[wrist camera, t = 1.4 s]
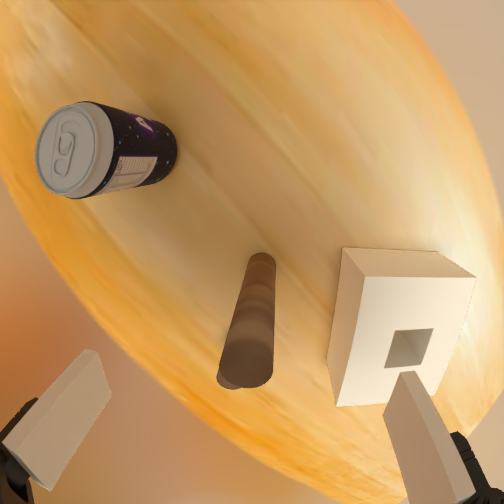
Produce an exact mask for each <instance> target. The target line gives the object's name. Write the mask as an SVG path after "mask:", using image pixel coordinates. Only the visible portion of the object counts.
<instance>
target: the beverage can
mask: <svg viewBox="0 0 504 504" xmlns="http://www.w3.org/2000/svg"><path fill="white" fill-rule="evenodd" d="M176 155H177V145H176V140H175V137H174V135H173V133H172V132H171V130H170V129H169V128H168V127H167V126H165V125H164V124H162V123H160V122H157V121H154V120H151V119H148V118H145V117H142V116H139V115H136V114H132V113H129V112H126V111H123V110H119V109H116V108H112V107H109V106H105V105H102V104H98V103H94V102H89V101H84V102H79V103H76V104H73V105H68V106H65V107H62V108H60V109H58V110H56V111H55V112H54V113H53V114H52V115H51V116H50V117H49V118H48V119H47V120H46V122H45V123H44V125H43V127H42V128H41V131H40V133H39V136H38V139H37V143H36V148H35V164H36V170H37V173H38V176H39V178H40V180H41V182H42V184H43V185H44V186H45V187H46V188H47V189H48V190H49V191H51V192H52V193H54V194H57V195H63V196H65V197H67V198H71V199H82V198H86V197H91V196H95V195H100V194H104V193H109V192H114V191H119V190H124V189H129V188H134V187H139V186H145V185H150V184H154V183H157V182H159V181H160V180H162V179H163V178H164V177H166V176H167V175H168V173H169V172H170V171H171V169H172V167H173V165H174V163H175V160H176Z"/></svg>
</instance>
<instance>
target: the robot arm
mask: <svg viewBox="0 0 504 504" xmlns="http://www.w3.org/2000/svg"><path fill="white" fill-rule="evenodd" d="M111 396H112V393H111V390H110V387H109V384H108V382H107V379H106V376H105V373H104V369H103V366H102V363H101V360H100V356H99V353H98V352H97V351H92V350H89V349H85V350H84V351H83V352H82V353H81V354H80V355H79V356H78V357H77V358H76V359H75V360H74V361H73V362H72V363H71V364H70V365H69V366H68V368H67V369H66V370H65V371H64V372H63V373H62V374H61V375H60V376H59V377H58V378H57V379H56V380H55V382H54V383H53V384H52V385H51V386H50V387H49V388H48V389H47V390H46V391H45V393H44V394H43V395H42V396H41V397H40V398H39V399H38V398H34V399H32V400H30V401H29V402H27V403H26V404H25V405H24V406H23V407H22V408H21V410H20V412H18V413H17V414H16V415H15V417H13V418H12V419H11V421H10V422H9V423H8V424H7V425H6V426H5V428H4V429H3V430H2V431H1V432H0V504H34V499H33V494H32V489H31V484H30V482H29V480H28V478H29V477H30V476H31V477H32V478H33V480H34V481H35V482H36V483H37V484H39V485H41V486H42V487H44V488H46V489H47V490H49V491H51V490H52V489H53V487H54V485H55V484H56V482H57V480H58V479H59V477H60V475H61V474H62V472H63V471H64V469H65V467H66V466H67V464H68V462H69V461H70V459H71V458H72V456H73V455H74V453H75V451H76V450H77V448H78V447H79V445H80V443H81V442H82V440H83V439H84V437H85V436H86V434H87V433H88V431H89V430H90V428H91V426H92V425H93V423H94V422H95V420H96V419H97V417H98V416H99V414H100V413H101V411H102V410H103V408H104V407H105V405H106V404H107V402H108V401H109V399H110V398H111ZM383 418H384V421H385V424H386V427H387V430H388V433H389V436H390V439H391V442H392V445H393V448H394V451H395V454H396V458H397V461H398V464H399V467H400V471H401V474H402V477H403V481H404V484H405V488H406V491H407V495H408V498H409V502H410V504H504V492H502V491H501V490H499V489H497V488H491V487H490V485H489V484H488V482H487V480H486V478H485V475H484V473H483V471H482V469H481V467H480V465H479V463H478V461H477V459H476V458H475V455H474V453H473V451H471V447H470V445H469V443H468V441H467V439H466V438H465V437H464V436H463V435H461V434H460V433H459V432H458V431H457V432H454V433H450V434H449V432H448V430H447V428H446V426H445V424H444V422H443V420H442V418H441V416H440V414H439V413H438V411H437V409H436V407H435V405H434V403H433V401H432V400H431V398H430V396H429V394H428V392H427V391H426V389H425V387H424V385H423V384H422V382H421V380H420V378H419V377H418V375H417V373H416V371H415V370H414V371H406V372H400V373H399V376H398V379H397V381H396V384H395V387H394V389H393V392H392V394H391V397H390V399H389V402H388V404H387V406H386V409H385V411H384V413H383Z"/></svg>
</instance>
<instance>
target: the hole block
mask: <svg viewBox="0 0 504 504" xmlns="http://www.w3.org/2000/svg"><path fill="white" fill-rule="evenodd" d="M476 279H477V277H475V276H474V275H472V274H471V273H469V272H468V271H466V270H465V269H463V268H462V267H460V266H459V265H457V264H456V263H454V262H452V261H451V260H449V259H448V258H446V257H445V256H443V255H441V254H440V253H438V252H431V251H412V250H391V249H370V248H348V247H343V249H342V258H341V267H340V275H339V283H338V291H337V298H336V305H335V311H334V318H333V324H332V330H331V336H330V342H329V347H328V352H327V358H326V360H327V365H328V370H329V374H330V379H331V384H332V389H333V394H334V399H335V404H336V407H338V406H355V405H368V404H378V403H387V402H389V399H390V397H391V394H392V392H393V389H394V387H395V384H396V381H397V379H398V376H399V373H400V372H406V371H414V370H415V371H416V373H417V375H418V377H419V378H420V380H421V382H422V384H423V385H424V387H425V389H426V391H427V392H428V394H429V396H433V395H434V394H435V392H436V390H437V388H438V386H439V384H440V381H441V379H442V377H443V375H444V373H445V370H446V368H447V366H448V363H449V361H450V359H451V356H452V354H453V351H454V349H455V346H456V343H457V341H458V338H459V335H460V332H461V330H462V327H463V324H464V321H465V318H466V315H467V311H468V308H469V305H470V301H471V298H472V294H473V291H474V287H475V283H476Z"/></svg>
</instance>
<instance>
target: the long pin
mask: <svg viewBox="0 0 504 504" xmlns="http://www.w3.org/2000/svg"><path fill="white" fill-rule="evenodd" d="M275 273H276V265H275V261H274V259H273V258H272V257H271V256H270V255H268V254H266V253H258V254H255V255H254V256H252V257H251V259H250V260H249V263H248V266H247V270H246V273H245V277H244V280H243V284H242V287H241V291H240V294H239V297H238V301H237V304H236V308H235V311H234V315H233V318H232V322H231V325H230V328H229V332H228V335H227V339H226V342H225V346H224V349H223V353H222V356H221V360H220V363H219V369H220V372H221V374H222V376H223V377H224V378H225V380H227V381H228V382H229V383H231V384H233V385H235V386H238V387H242V388H255V387H259V386H261V385H263V384H265V383H266V382H267V381H268V380H269V379H270V378H271V376H272V373H273V355H274V321H275Z"/></svg>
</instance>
